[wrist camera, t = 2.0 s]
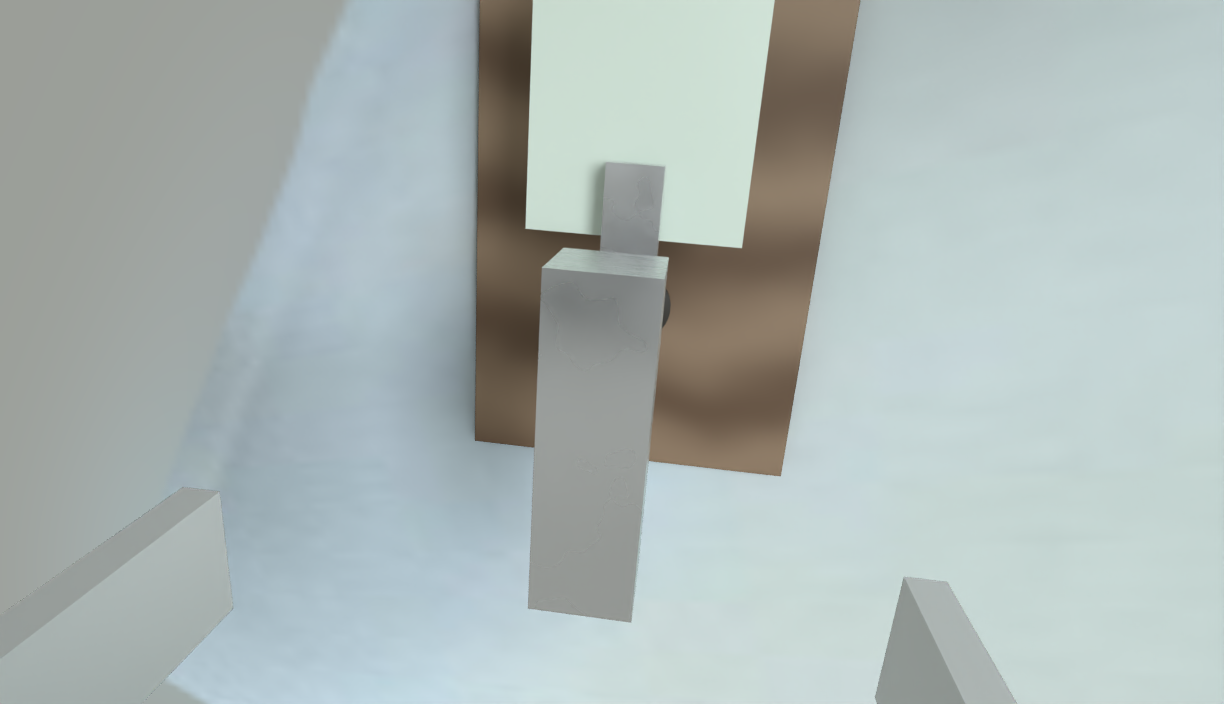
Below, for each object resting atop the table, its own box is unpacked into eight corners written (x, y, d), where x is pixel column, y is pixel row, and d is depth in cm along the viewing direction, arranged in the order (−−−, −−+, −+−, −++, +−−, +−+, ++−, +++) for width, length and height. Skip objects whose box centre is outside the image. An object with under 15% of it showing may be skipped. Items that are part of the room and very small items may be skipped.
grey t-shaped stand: (617, 152, 31) (545, 174, 16) (683, 157, 31) (674, 185, 16) (599, 400, 35) (527, 608, 20) (658, 406, 35) (630, 622, 20)
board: (486, -52, 31) (476, -61, 30) (860, -31, 30) (869, -40, 28) (480, 432, 39) (471, 445, 37) (778, 467, 37) (782, 481, 36)
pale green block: (573, -29, 30) (532, -82, 23) (762, -18, 29) (786, -70, 22) (561, 207, 33) (522, 231, 26) (732, 222, 33) (744, 251, 25)
